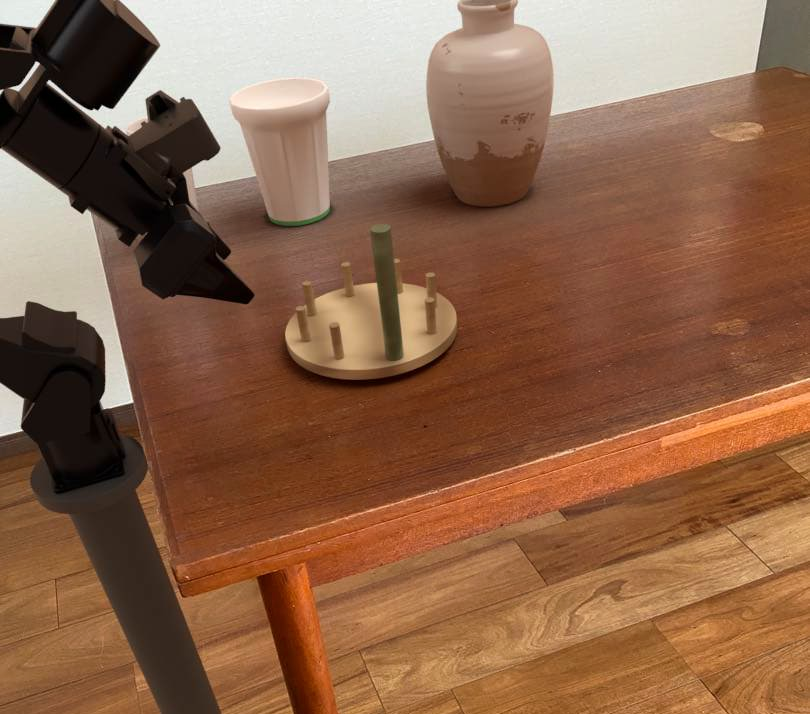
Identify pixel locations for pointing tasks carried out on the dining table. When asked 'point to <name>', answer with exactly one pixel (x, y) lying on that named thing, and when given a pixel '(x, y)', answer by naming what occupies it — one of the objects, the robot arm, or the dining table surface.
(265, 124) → the cup
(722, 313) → the dining table surface
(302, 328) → the wooden peg board
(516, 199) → the vase
